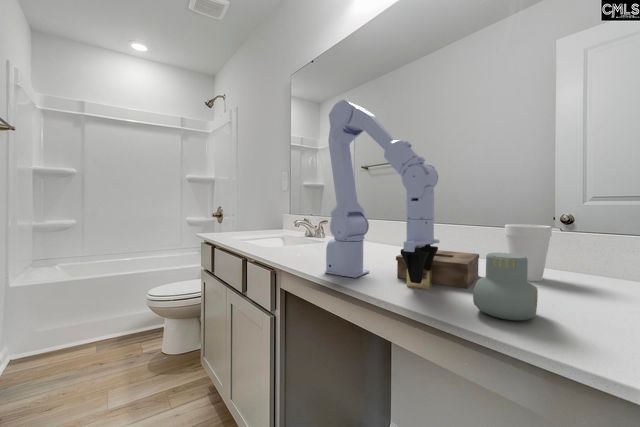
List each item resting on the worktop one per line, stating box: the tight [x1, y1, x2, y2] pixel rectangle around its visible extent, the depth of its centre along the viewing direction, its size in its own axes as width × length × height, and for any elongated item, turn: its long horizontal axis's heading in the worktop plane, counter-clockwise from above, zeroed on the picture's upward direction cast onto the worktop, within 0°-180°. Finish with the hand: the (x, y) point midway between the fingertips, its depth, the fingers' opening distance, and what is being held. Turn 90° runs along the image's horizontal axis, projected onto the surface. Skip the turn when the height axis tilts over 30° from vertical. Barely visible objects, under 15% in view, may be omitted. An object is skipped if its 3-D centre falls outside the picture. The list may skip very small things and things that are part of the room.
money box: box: [395, 249, 480, 289], centre depth 76 cm, size 16×16×6 cm
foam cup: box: [504, 224, 552, 282], centre depth 75 cm, size 10×9×13 cm
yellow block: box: [406, 269, 433, 291], centre depth 67 cm, size 5×2×4 cm, turn 54°
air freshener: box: [472, 252, 538, 322], centre depth 50 cm, size 11×8×10 cm
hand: (419, 280), depth 67 cm, fingers open, 5 cm apart
